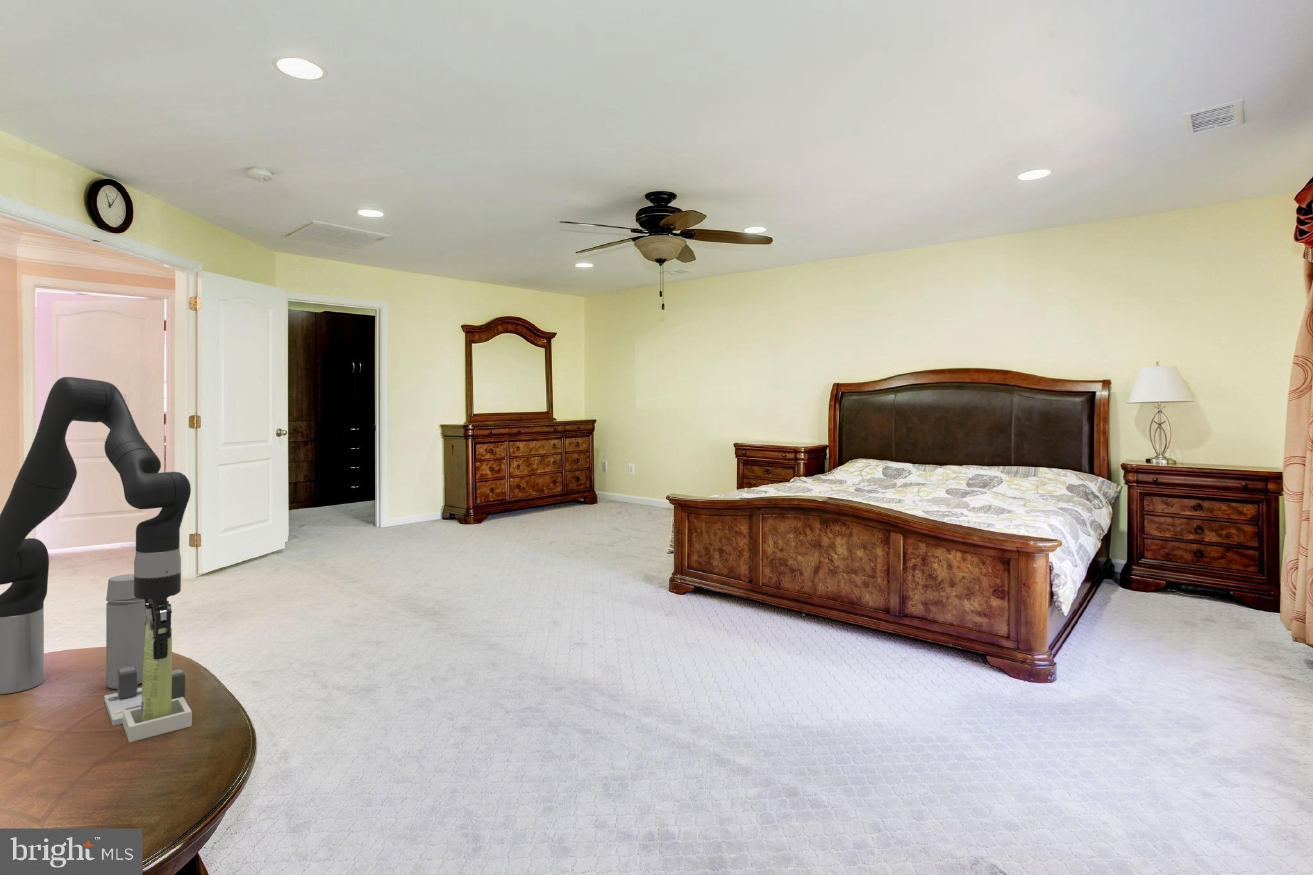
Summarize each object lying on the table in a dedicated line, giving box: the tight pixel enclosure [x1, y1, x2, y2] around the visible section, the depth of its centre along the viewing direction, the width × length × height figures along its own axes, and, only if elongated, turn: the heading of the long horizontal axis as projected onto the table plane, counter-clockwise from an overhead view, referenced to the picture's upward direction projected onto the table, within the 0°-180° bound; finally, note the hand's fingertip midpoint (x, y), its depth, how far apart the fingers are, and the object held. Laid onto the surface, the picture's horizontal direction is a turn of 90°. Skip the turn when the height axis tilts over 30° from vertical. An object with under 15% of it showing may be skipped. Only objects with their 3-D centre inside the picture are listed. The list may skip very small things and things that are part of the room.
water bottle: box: [105, 573, 146, 690], centre depth 151 cm, size 9×8×25 cm
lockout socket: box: [122, 697, 193, 743], centre depth 133 cm, size 9×10×3 cm
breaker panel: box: [104, 687, 142, 727], centre depth 142 cm, size 15×12×2 cm
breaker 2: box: [172, 668, 186, 699], centre depth 142 cm, size 3×3×6 cm
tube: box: [141, 624, 173, 722], centre depth 133 cm, size 6×5×20 cm
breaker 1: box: [116, 666, 138, 699], centre depth 143 cm, size 3×3×6 cm
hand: (157, 653), depth 132 cm, fingers closed on tube, 6 cm apart
